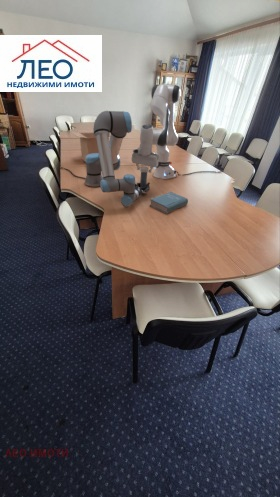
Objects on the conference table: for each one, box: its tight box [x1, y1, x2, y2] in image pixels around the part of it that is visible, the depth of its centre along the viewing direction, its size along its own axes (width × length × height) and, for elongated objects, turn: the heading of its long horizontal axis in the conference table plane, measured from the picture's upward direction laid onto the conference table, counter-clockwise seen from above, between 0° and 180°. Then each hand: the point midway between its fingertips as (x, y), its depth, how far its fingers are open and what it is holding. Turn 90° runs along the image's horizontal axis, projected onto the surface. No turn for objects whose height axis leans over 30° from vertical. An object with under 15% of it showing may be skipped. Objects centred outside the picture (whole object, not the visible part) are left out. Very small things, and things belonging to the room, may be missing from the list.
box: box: [70, 129, 111, 163], centre depth 229 cm, size 44×36×27 cm
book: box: [149, 191, 189, 214], centre depth 157 cm, size 23×16×5 cm
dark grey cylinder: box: [139, 171, 148, 196], centre depth 168 cm, size 5×5×20 cm
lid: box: [139, 166, 149, 173], centre depth 162 cm, size 6×6×2 cm
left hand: (145, 183), depth 174 cm, fingers closed on dark grey cylinder, 5 cm apart
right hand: (144, 171), depth 163 cm, fingers open, 8 cm apart
